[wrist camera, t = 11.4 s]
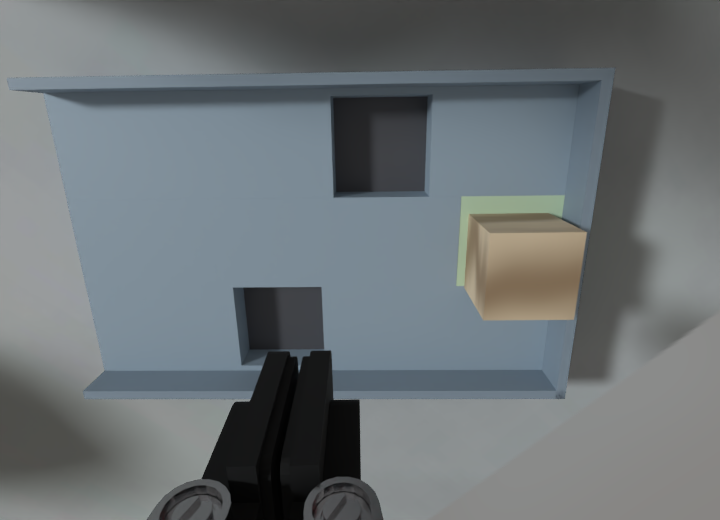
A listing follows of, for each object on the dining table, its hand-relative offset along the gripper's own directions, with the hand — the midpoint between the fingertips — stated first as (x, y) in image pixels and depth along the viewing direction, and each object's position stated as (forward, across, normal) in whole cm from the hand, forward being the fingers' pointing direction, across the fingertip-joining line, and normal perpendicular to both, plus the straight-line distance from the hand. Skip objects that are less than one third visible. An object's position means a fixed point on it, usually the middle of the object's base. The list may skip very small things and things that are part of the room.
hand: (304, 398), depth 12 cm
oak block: (+17, -11, +1) cm, 20 cm away
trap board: (+20, +1, +1) cm, 20 cm away
